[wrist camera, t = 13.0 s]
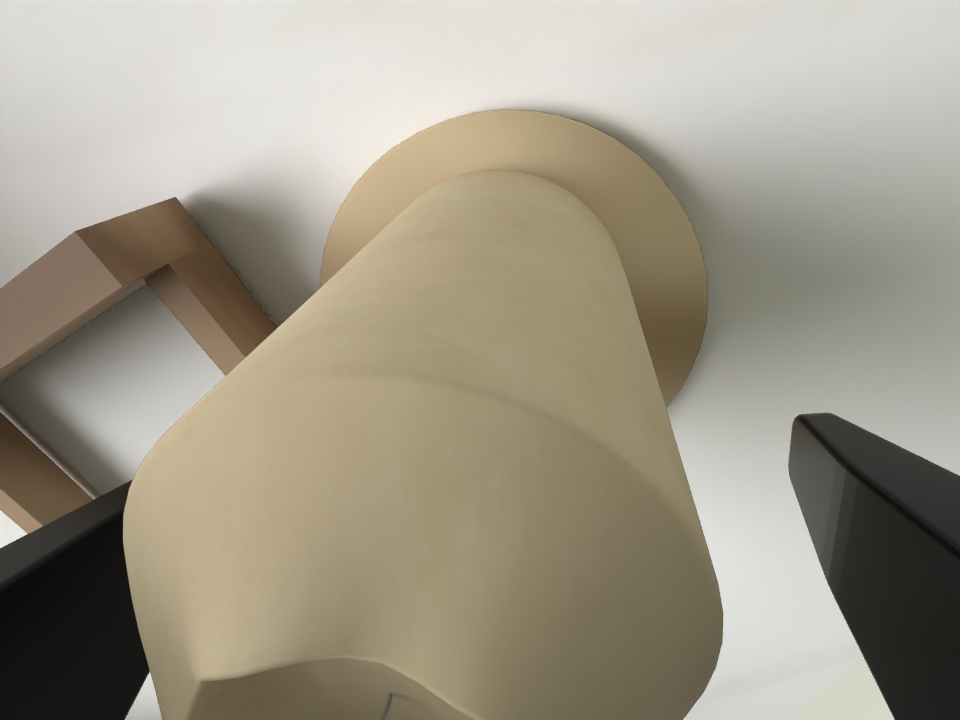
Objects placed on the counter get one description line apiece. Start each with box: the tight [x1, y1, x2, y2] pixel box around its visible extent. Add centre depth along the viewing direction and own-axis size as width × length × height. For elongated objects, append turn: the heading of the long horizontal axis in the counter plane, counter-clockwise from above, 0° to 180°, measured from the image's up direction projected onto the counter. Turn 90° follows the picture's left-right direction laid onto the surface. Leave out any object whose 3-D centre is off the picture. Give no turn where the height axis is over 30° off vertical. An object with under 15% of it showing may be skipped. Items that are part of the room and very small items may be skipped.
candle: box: [123, 170, 723, 720], centre depth 8 cm, size 6×6×10 cm
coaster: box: [321, 110, 708, 407], centre depth 13 cm, size 9×9×1 cm
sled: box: [0, 197, 277, 534], centre depth 17 cm, size 25×11×5 cm, turn 30°
